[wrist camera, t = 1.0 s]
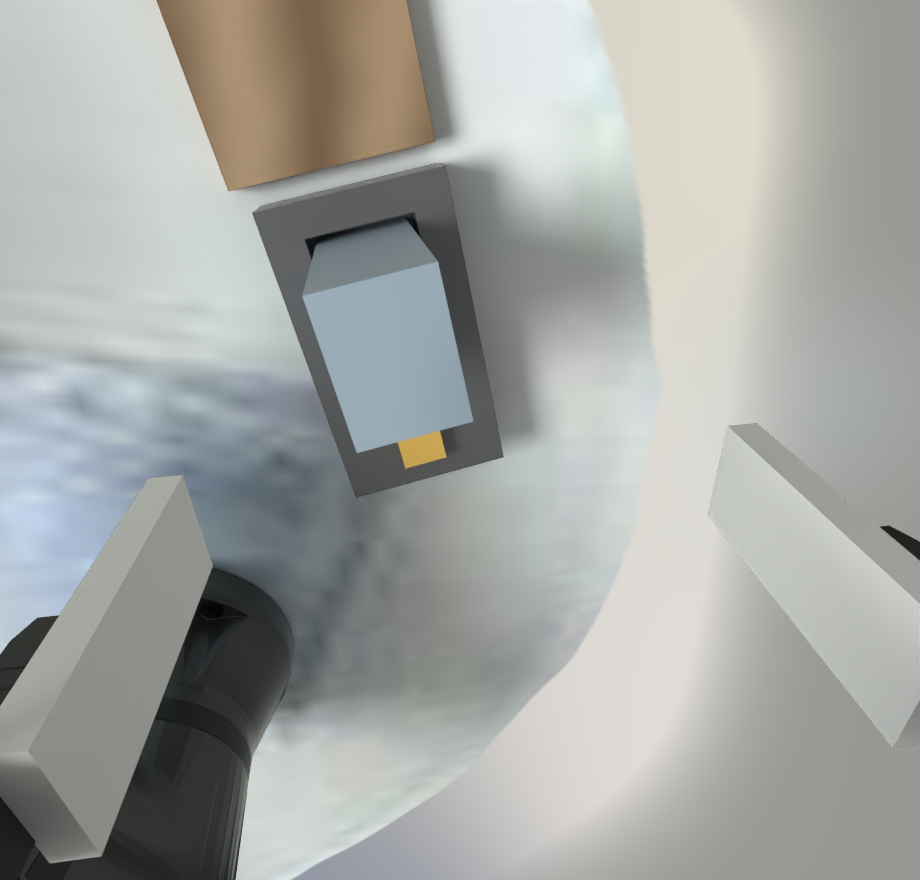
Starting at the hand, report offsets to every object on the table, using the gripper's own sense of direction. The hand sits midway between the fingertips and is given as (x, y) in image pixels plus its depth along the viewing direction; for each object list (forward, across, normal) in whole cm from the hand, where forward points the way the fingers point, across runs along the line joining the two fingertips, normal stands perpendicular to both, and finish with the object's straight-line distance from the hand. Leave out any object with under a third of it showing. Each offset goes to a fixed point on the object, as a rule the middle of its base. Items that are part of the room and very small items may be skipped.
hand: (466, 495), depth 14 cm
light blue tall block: (+19, +2, 0) cm, 19 cm away
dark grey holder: (+20, +2, +3) cm, 20 cm away
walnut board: (+20, +5, -11) cm, 23 cm away
